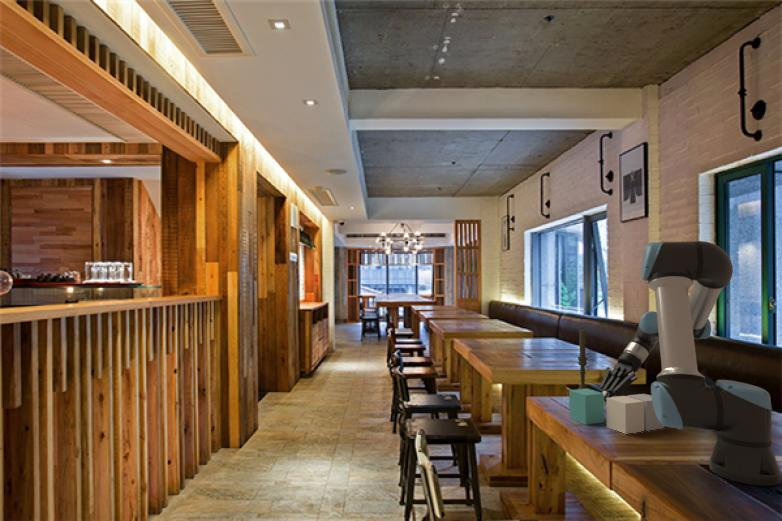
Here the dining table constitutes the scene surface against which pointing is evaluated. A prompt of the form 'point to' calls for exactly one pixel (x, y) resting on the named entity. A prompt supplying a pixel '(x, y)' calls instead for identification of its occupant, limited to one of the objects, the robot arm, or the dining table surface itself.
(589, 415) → the teal block
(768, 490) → the dining table surface
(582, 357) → the candlestick holder
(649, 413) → the grey block
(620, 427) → the cream block
